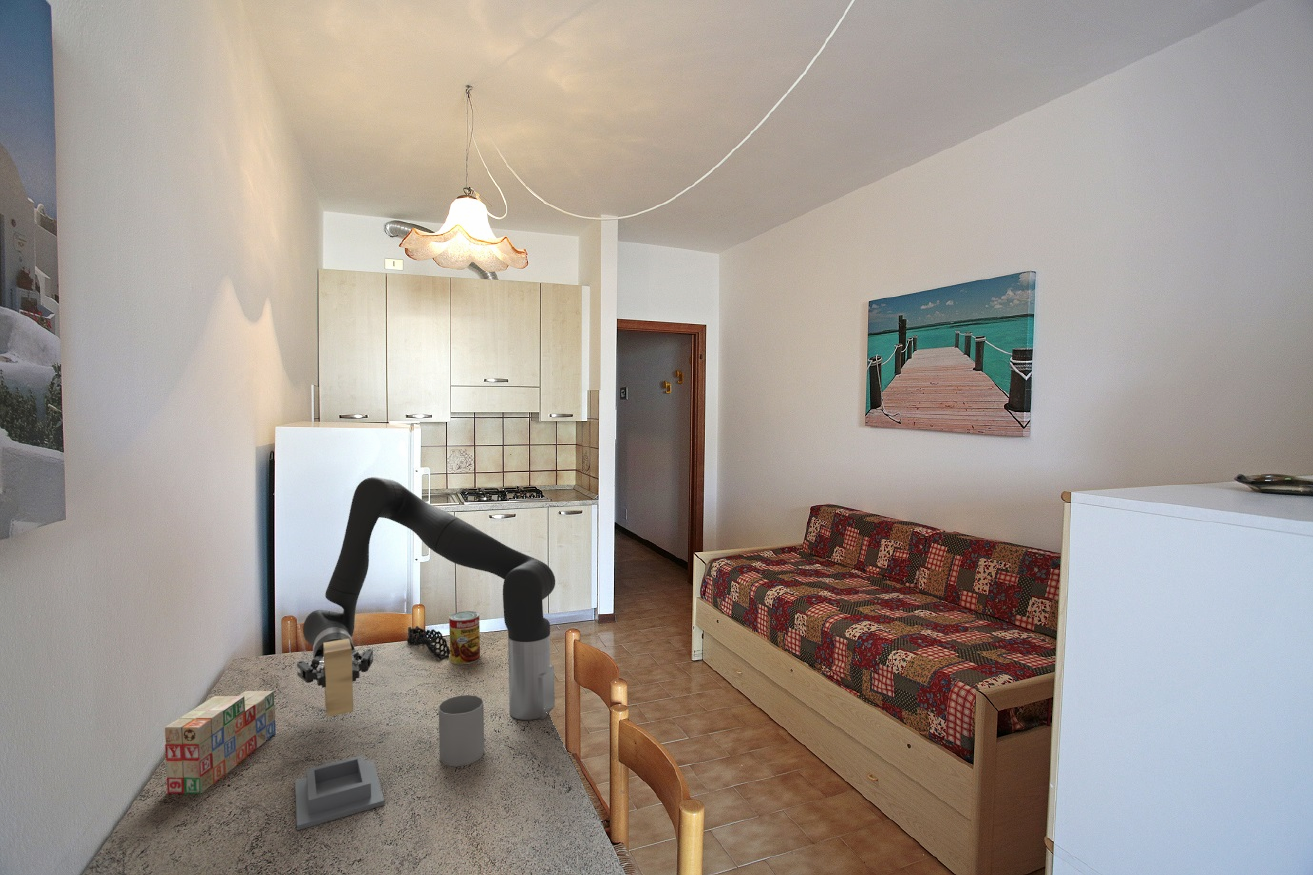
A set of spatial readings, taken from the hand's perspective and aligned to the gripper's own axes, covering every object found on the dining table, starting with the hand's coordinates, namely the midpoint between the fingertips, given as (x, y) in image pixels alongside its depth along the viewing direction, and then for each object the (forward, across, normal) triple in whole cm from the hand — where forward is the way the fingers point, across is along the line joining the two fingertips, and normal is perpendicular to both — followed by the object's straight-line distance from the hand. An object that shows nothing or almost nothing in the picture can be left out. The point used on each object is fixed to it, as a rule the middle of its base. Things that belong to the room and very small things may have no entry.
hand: (339, 679), depth 118 cm
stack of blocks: (-16, -19, +18) cm, 31 cm away
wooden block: (-3, 0, +6) cm, 7 cm away
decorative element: (-58, +26, +18) cm, 66 cm away
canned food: (-45, +33, +18) cm, 59 cm away
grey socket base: (+7, -1, +18) cm, 19 cm away
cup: (+5, +21, +18) cm, 28 cm away
